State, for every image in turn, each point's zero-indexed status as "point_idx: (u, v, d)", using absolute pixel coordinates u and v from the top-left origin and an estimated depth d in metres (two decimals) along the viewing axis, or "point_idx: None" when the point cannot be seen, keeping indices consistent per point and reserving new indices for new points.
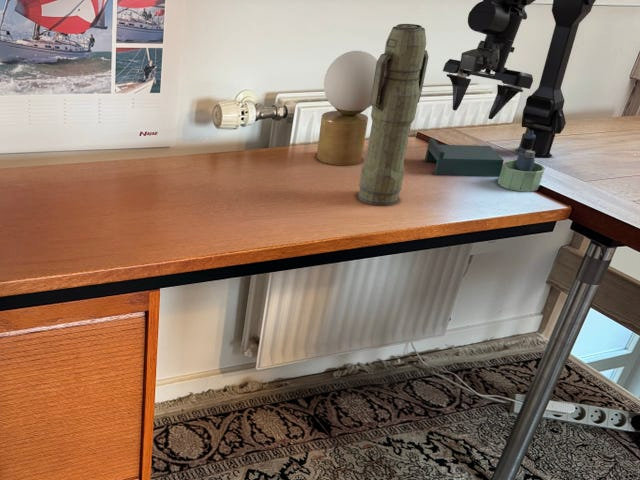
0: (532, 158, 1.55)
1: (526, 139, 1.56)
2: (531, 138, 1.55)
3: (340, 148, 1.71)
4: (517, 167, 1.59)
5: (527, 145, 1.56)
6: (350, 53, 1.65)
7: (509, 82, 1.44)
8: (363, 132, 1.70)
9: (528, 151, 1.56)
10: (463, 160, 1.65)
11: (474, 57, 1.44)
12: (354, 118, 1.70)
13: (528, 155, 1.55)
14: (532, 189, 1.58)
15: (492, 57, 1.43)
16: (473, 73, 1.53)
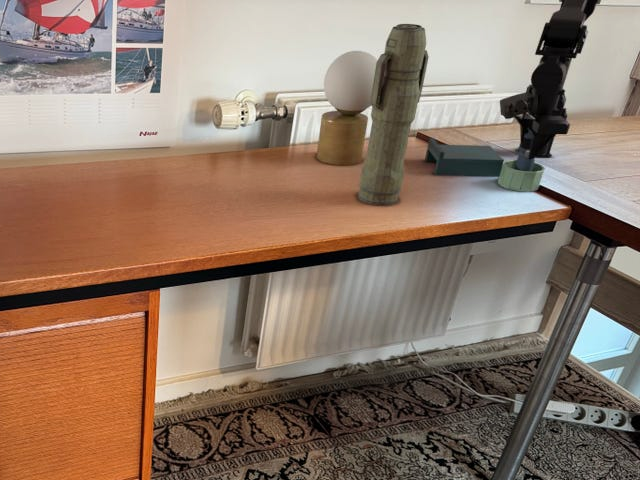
0: None
1: (526, 139, 1.56)
2: None
3: (340, 148, 1.71)
4: (517, 167, 1.59)
5: (527, 145, 1.56)
6: (350, 53, 1.65)
7: (535, 129, 1.47)
8: (363, 132, 1.70)
9: (528, 151, 1.56)
10: (463, 160, 1.65)
11: (503, 105, 1.51)
12: (354, 118, 1.70)
13: (528, 155, 1.55)
14: (532, 189, 1.58)
15: (517, 106, 1.48)
16: None
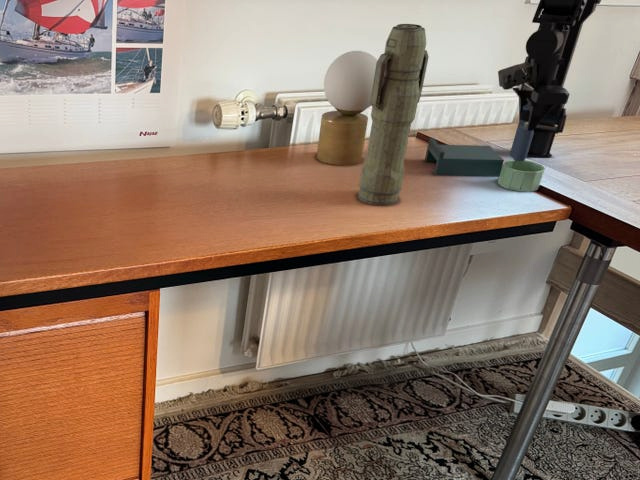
0: None
1: (525, 111, 1.54)
2: None
3: (340, 148, 1.71)
4: (516, 140, 1.57)
5: (526, 117, 1.54)
6: (350, 53, 1.65)
7: (534, 99, 1.45)
8: (363, 132, 1.70)
9: (527, 123, 1.54)
10: (463, 160, 1.65)
11: (502, 75, 1.49)
12: (354, 118, 1.70)
13: (527, 127, 1.53)
14: (532, 189, 1.58)
15: (515, 76, 1.46)
16: None
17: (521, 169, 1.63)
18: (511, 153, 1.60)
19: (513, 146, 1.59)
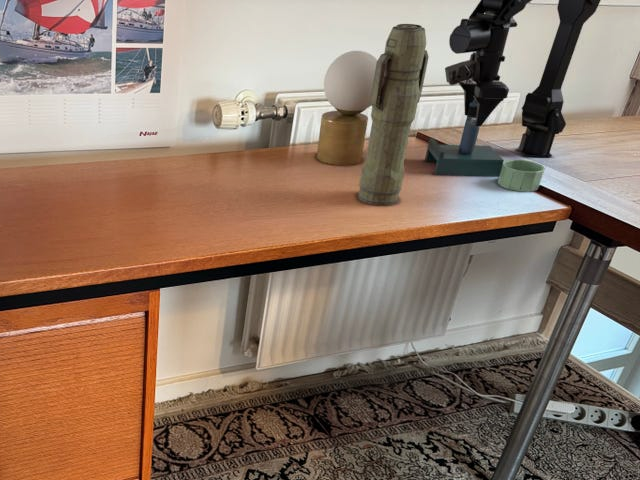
0: None
1: (471, 107, 1.64)
2: (476, 106, 1.63)
3: (340, 148, 1.71)
4: (464, 134, 1.67)
5: (472, 113, 1.64)
6: (350, 53, 1.65)
7: (477, 94, 1.54)
8: (363, 132, 1.70)
9: (473, 118, 1.63)
10: (463, 160, 1.65)
11: (448, 72, 1.58)
12: (354, 118, 1.70)
13: (473, 122, 1.63)
14: (532, 189, 1.58)
15: (459, 72, 1.55)
16: None
17: (521, 169, 1.63)
18: (460, 147, 1.69)
19: (461, 141, 1.68)
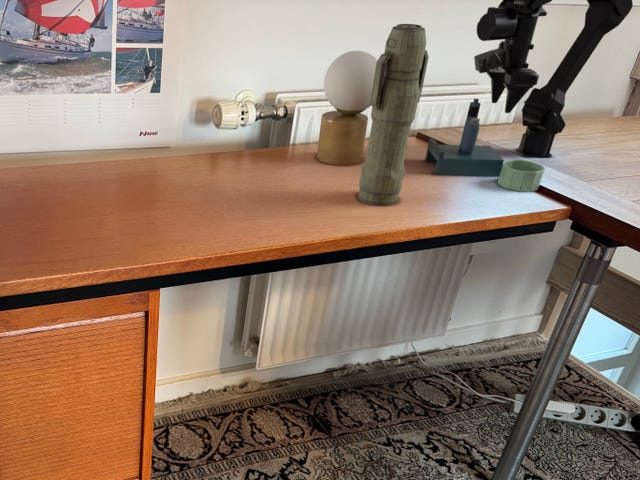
0: (477, 125, 1.63)
1: (471, 107, 1.64)
2: (476, 106, 1.63)
3: (340, 148, 1.71)
4: (464, 134, 1.67)
5: (472, 113, 1.64)
6: (350, 53, 1.65)
7: (507, 81, 1.59)
8: (363, 132, 1.70)
9: (473, 118, 1.63)
10: (463, 160, 1.65)
11: (478, 60, 1.62)
12: (354, 118, 1.70)
13: (473, 122, 1.63)
14: (532, 189, 1.58)
15: (490, 60, 1.59)
16: None
17: (521, 169, 1.63)
18: (460, 147, 1.69)
19: (461, 141, 1.68)
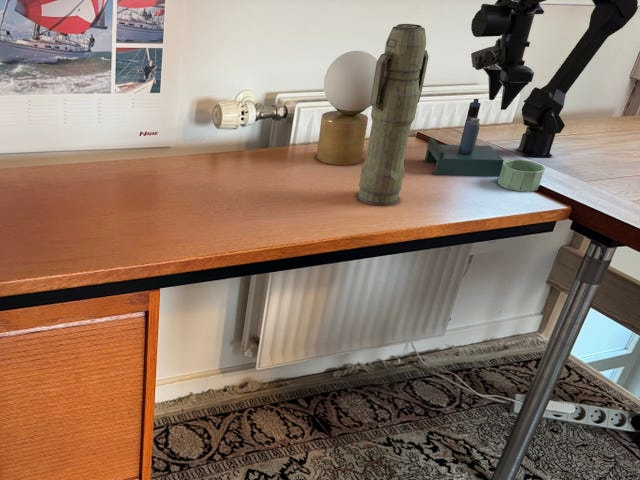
0: (477, 125, 1.63)
1: (471, 107, 1.64)
2: (476, 106, 1.63)
3: (340, 148, 1.71)
4: (464, 134, 1.67)
5: (472, 113, 1.64)
6: (350, 53, 1.65)
7: (502, 78, 1.60)
8: (363, 132, 1.70)
9: (473, 118, 1.63)
10: (463, 160, 1.65)
11: (474, 57, 1.64)
12: (354, 118, 1.70)
13: (473, 122, 1.63)
14: (532, 189, 1.58)
15: (486, 57, 1.61)
16: None
17: (521, 169, 1.63)
18: (460, 147, 1.69)
19: (461, 141, 1.68)
